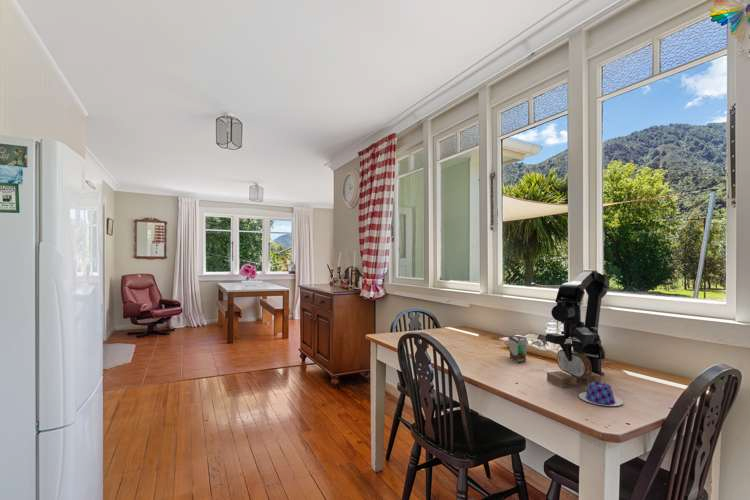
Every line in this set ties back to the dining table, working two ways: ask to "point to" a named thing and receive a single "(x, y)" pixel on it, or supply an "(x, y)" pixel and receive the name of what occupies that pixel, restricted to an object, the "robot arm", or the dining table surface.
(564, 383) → the slotted rail
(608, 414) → the dining table surface
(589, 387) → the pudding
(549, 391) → the dining table surface
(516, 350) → the food container
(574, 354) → the tin
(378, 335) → the dining table surface
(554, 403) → the dining table surface
